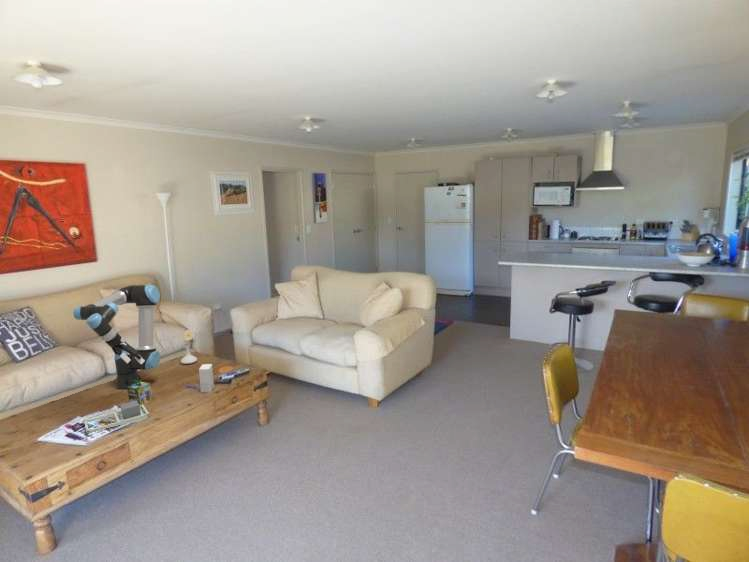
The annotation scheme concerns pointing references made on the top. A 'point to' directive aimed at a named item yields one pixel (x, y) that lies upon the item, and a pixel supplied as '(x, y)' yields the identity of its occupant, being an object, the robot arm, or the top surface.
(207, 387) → the skincare box
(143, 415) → the caddy
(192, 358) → the flower in vase
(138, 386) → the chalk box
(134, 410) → the grey block
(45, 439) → the top surface
